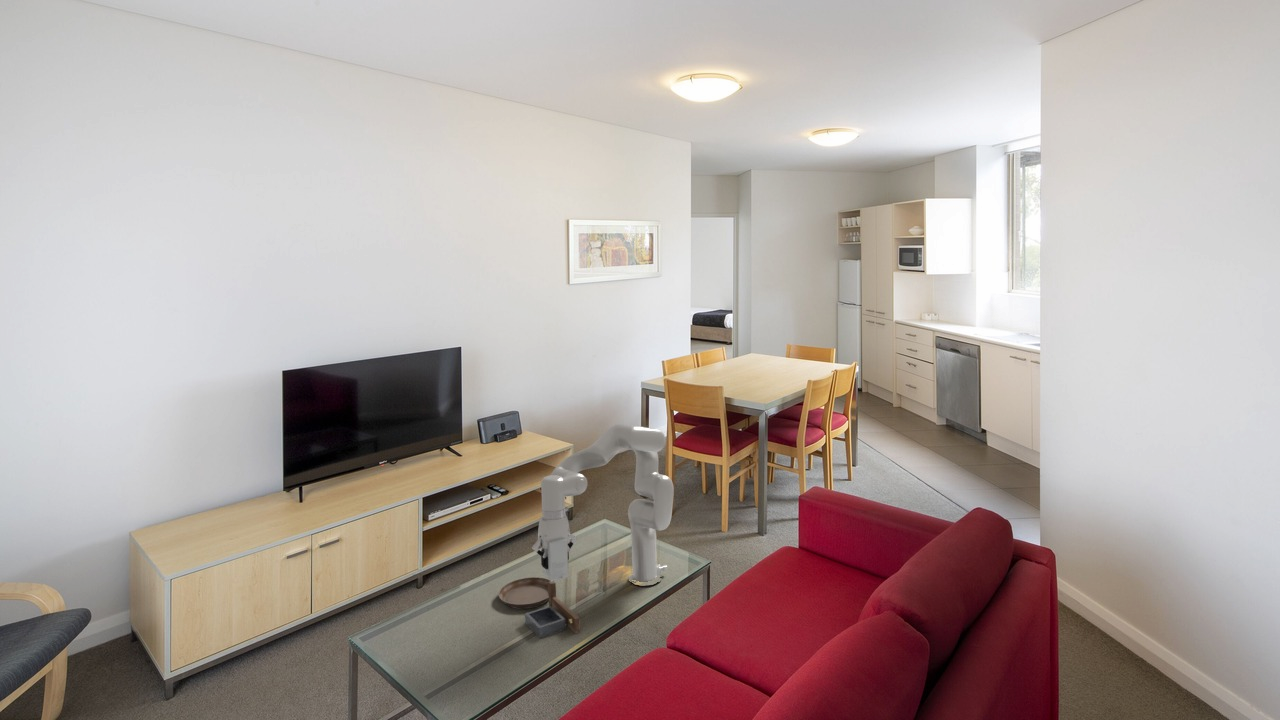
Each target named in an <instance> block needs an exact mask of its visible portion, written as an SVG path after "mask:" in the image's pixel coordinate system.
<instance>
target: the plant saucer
mask: <svg viewBox="0 0 1280 720" xmlns="http://www.w3.org/2000/svg"><path fill="white" fill-rule="evenodd" d="M548 582H550V580H549V579H548V578H544V577H536V576H534V577H524V578H520V579H516V580H513V581H511V582H509V583H507V584H505V585H504V586H503V587H501V588H500V590H499V591H498V597H499V599H500V600H501V601H502V603H504V604H505V605H506V606H508V607H510V608H513V609H519V610H520V609H521V610H523V609H524V610H525V609H532V608H536V607H539V606H541V605H543V604H546V603H547V602H549V596H548Z"/></svg>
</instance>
